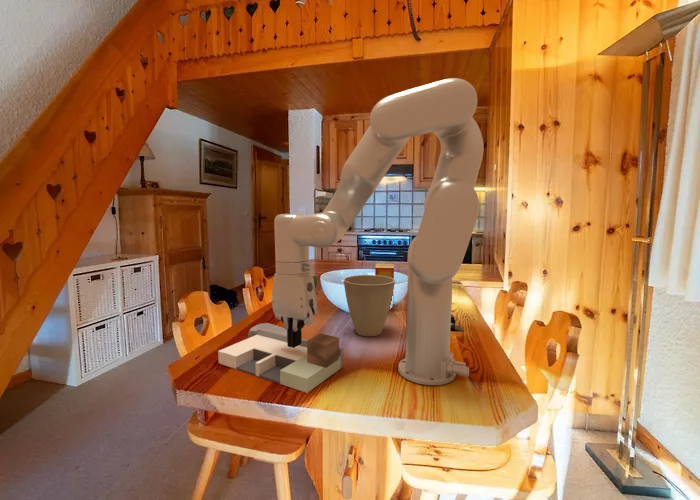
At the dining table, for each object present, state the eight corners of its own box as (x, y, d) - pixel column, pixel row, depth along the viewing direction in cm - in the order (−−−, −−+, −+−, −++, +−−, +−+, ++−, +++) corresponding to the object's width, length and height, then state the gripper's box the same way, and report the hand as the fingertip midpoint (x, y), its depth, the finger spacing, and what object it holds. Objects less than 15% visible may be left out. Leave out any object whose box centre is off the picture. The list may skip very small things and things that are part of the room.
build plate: (428, 333, 106) (428, 318, 105) (424, 325, 113) (425, 311, 112) (470, 334, 105) (471, 319, 104) (464, 326, 112) (464, 312, 111)
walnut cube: (338, 359, 79) (339, 337, 78) (326, 367, 75) (326, 345, 74) (320, 354, 81) (320, 333, 81) (307, 362, 77) (307, 340, 77)
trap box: (342, 366, 82) (342, 348, 81) (307, 393, 70) (306, 371, 70) (260, 344, 95) (259, 328, 94) (218, 363, 83) (217, 344, 83)
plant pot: (402, 329, 107) (403, 278, 105) (378, 345, 94) (379, 287, 92) (360, 320, 115) (360, 272, 113) (333, 334, 103) (333, 280, 101)
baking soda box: (393, 311, 125) (394, 267, 123) (374, 310, 126) (375, 266, 124) (392, 304, 135) (393, 262, 133) (375, 303, 135) (376, 262, 134)
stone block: (267, 337, 105) (244, 342, 96) (270, 321, 105) (246, 324, 96) (301, 346, 100) (279, 352, 91) (303, 329, 100) (281, 333, 91)
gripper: (329, 268, 80) (330, 346, 82) (278, 263, 88) (281, 334, 90) (309, 273, 74) (310, 357, 76) (256, 267, 81) (259, 344, 83)
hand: (294, 345), depth 83 cm, fingers closed
